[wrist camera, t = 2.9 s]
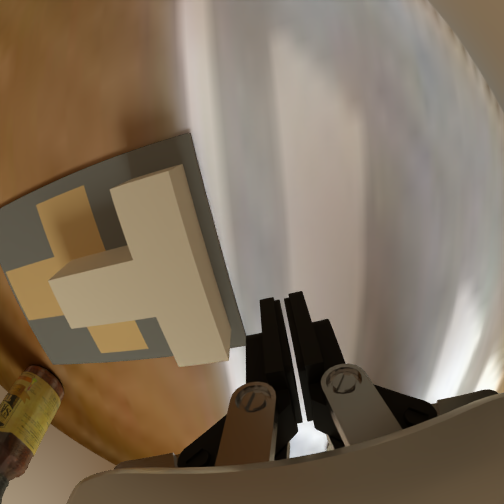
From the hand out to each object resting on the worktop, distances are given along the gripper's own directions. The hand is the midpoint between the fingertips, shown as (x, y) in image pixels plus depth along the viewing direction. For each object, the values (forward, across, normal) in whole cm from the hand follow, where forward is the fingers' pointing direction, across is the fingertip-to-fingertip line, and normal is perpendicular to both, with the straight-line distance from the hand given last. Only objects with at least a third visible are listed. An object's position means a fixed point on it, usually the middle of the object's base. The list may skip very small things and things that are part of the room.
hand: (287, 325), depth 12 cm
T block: (+12, +11, +1) cm, 16 cm away
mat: (+12, +15, +1) cm, 19 cm away
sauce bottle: (+12, +31, +13) cm, 35 cm away
